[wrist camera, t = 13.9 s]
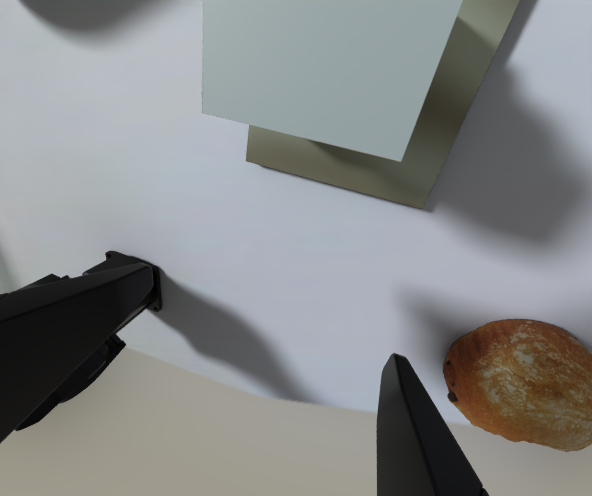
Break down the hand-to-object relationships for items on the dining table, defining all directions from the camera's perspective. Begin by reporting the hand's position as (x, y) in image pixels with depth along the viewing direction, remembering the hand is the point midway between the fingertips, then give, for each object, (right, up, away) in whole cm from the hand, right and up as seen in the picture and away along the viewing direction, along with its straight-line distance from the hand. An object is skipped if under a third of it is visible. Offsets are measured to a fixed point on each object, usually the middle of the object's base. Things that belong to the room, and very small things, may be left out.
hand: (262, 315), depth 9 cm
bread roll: (+19, -7, +13) cm, 25 cm away
